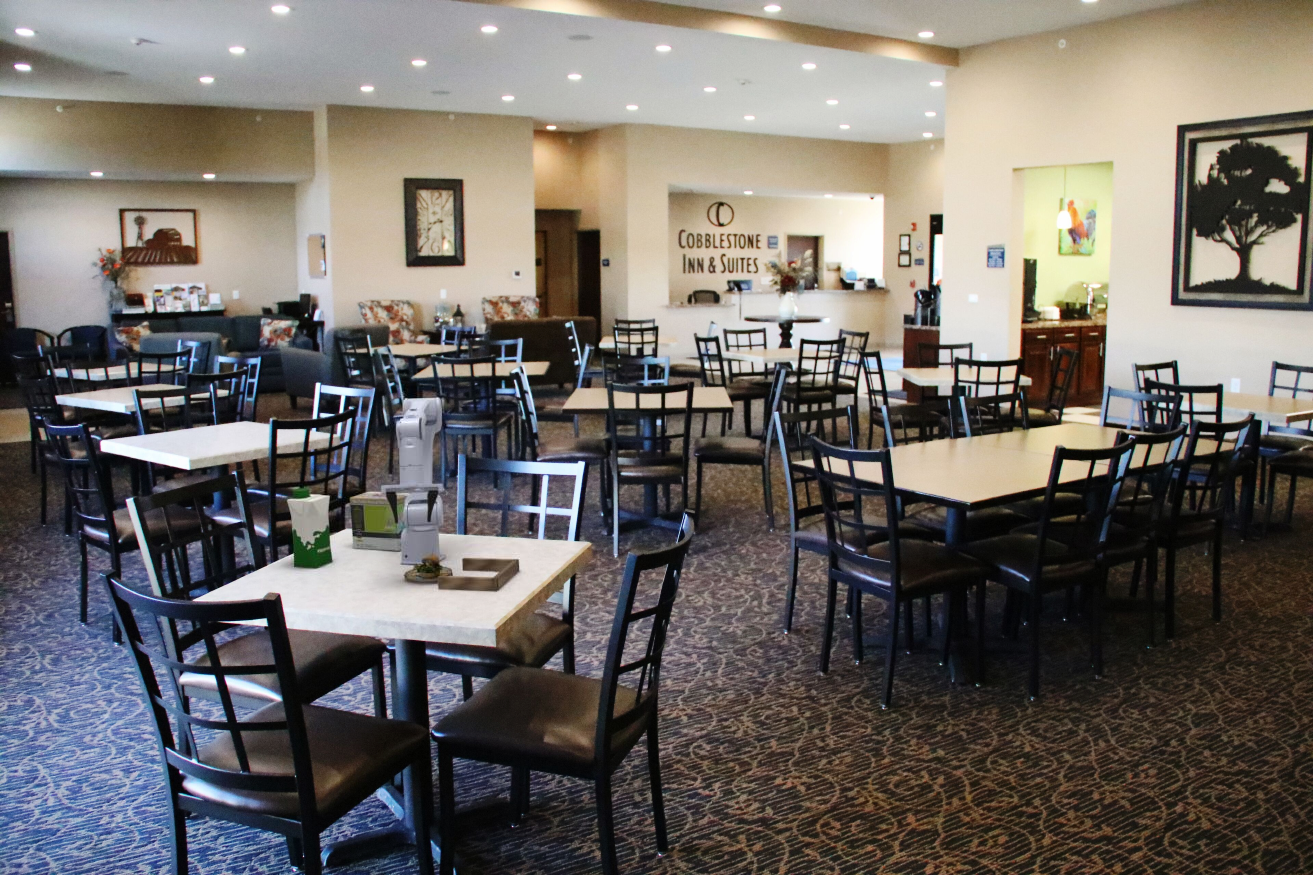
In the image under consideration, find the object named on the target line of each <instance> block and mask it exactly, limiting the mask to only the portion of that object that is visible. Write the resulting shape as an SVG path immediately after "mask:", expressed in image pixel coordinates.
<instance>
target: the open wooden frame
mask: <svg viewBox="0 0 1313 875" xmlns="http://www.w3.org/2000/svg"><path fill="white" fill-rule="evenodd" d="M461 563H462V564H461V565H462V571H468V572H469V571H471V572H475V571H477V572H497V574H495V575H494V576H491V577H490V576H489V577H488V576H487V577H486V576H466V575H465V576H464V575H462V576H461V575H460V576H459V575H453V576H451V575H450V576H439V577H438V580H437V587H438V590H451V591H453V590H454V591H481V592H482V591H483V592H497V591H499V590H500V589H502V587H504V585H506V584H507V583H508V582H509V581H510V580H511V579H512V578H513V577H514V576H515V575H516V574H518V572H520V559H517V558H484V557H483V558H482V557H463V558H462V559H461Z"/></svg>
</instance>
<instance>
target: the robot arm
mask: <svg viewBox="0 0 1313 875" xmlns="http://www.w3.org/2000/svg"><path fill="white" fill-rule="evenodd" d="M442 405H443V404H442V400H441V398H440V397H425V398H407V397H406V398H404V399H403V401H402V416H403V417H402V418H400V419H399V420H397V421H396V424H395V432H396V433H395V434H396V440H397V448H398V450H399V452H398V453H399V455H398V458H399V459H398V460H399V461H398V462H399V484H389V485H387V484H385V485H381V486H380V492H381V494H386V498H387V500H388V502H389V504H390V506H391V509H392V512H393V515H394V520H395V523H398V513H397V494H396V493H411V494H410V495H409V496H407V497H406V500H405V505H404V510H403V518H404V525H405V526H406V527H407V528H405V529H404V530H403V531H402V534H401V550H400V551H401V552H400V553H401V561H400V564H401V565H416V563H417V564H418V565H422V564H423V563H422V559H423V558H424V557H425V556H428V555H432V554H433V555H435V556H437V557H438V558H439V560H440V562H441V561H442V560H443V559H445V558H446V555H444V554H441V552H440V537H439V536H440V535H439V531H440V530H439V527H442V525H444V524H443V523H444V506H443V499H442V497H441V496H440V495H439V493H442V492H443V491H444V490H443V489H444V488H443V486H444V484H443V483H433V458H434V456H433V450H434V439H435V434H437V433H438V432H440V431H441V430H442V424H443V421H442V419H443V418H442V416H443V414H442V413H443V406H442ZM408 527H409V528H408ZM433 548H434V550H433Z"/></svg>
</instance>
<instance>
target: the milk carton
mask: <svg viewBox="0 0 1313 875" xmlns="http://www.w3.org/2000/svg"><path fill="white" fill-rule="evenodd" d="M292 493H293V497H291V498H289V499H287V500H286V502H287V505H288V509H289V512H290V516H291V530H292V532H291V533H292V541H293V542H292V544H293V567H297V568H308V569H318V568H320V567H323V566H326V565H328V564H330V563H332V562H333V555H332V548H331V547H332V546H331V535H330V534H331V532H330V523H329V522H330V520H329V505H330V499H331V498H330V497H331V496H330V495H322V494H311V493H310V488H307V487H298V488H295V489H293V490H292Z"/></svg>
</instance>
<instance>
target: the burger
mask: <svg viewBox="0 0 1313 875" xmlns="http://www.w3.org/2000/svg"><path fill="white" fill-rule="evenodd" d="M433 550H434V548H433ZM422 563H423V564H417V563H416V564H413V568H412V569H409V570H407V571H405V572H404V574H403V577H404V579H406V578H407V579H409V580H410V581H415V582H423V583H425V582H436V581H438V577H439V576H454V573H453V570H452V569H451V568H449V567H447V566H444V565H442V564H440V563H441V561H440V560H439V558H438V557H437V556H435V555H433V554H432V555H428V556H425V557H424V558H423V559H422Z"/></svg>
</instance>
